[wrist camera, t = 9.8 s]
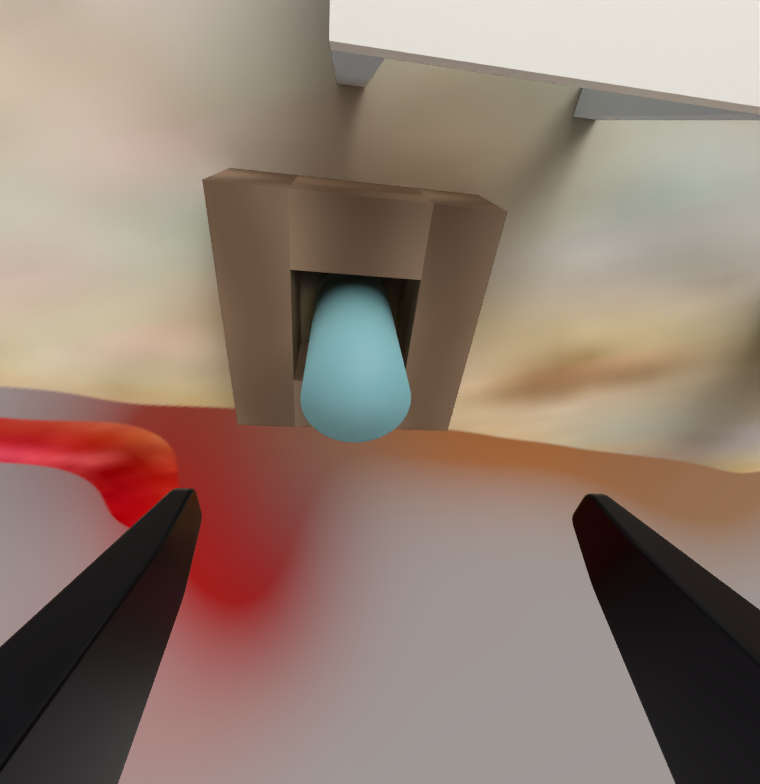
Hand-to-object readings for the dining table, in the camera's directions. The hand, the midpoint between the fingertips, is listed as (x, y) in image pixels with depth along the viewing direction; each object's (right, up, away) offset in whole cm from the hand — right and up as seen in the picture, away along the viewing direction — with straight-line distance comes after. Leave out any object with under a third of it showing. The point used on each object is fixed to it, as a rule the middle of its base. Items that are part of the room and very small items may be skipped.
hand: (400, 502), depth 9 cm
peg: (-2, +7, +9) cm, 12 cm away
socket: (-2, +7, +9) cm, 12 cm away
